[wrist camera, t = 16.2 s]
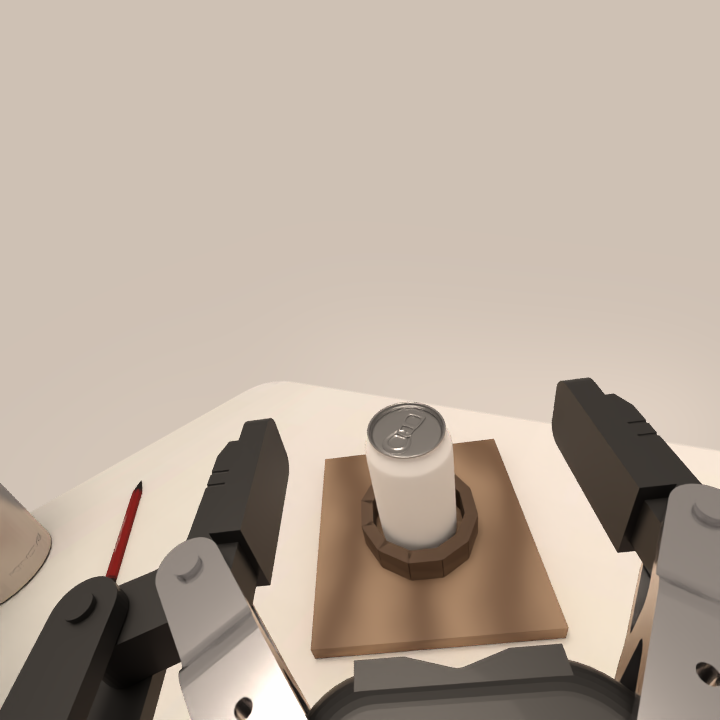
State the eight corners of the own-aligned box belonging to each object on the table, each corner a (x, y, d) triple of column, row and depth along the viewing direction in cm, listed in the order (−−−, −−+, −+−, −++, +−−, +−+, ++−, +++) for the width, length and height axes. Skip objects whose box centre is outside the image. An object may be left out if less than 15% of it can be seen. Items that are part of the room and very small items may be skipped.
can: (369, 540, 36) (343, 444, 29) (404, 485, 40) (389, 390, 33) (438, 576, 32) (427, 475, 26) (468, 511, 36) (466, 411, 30)
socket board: (315, 658, 30) (302, 634, 28) (328, 468, 45) (320, 443, 43) (565, 637, 29) (573, 610, 27) (493, 448, 44) (494, 421, 42)
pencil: (146, 481, 48) (143, 476, 48) (112, 599, 37) (107, 594, 36) (139, 483, 48) (135, 478, 48) (102, 602, 37) (97, 596, 36)
